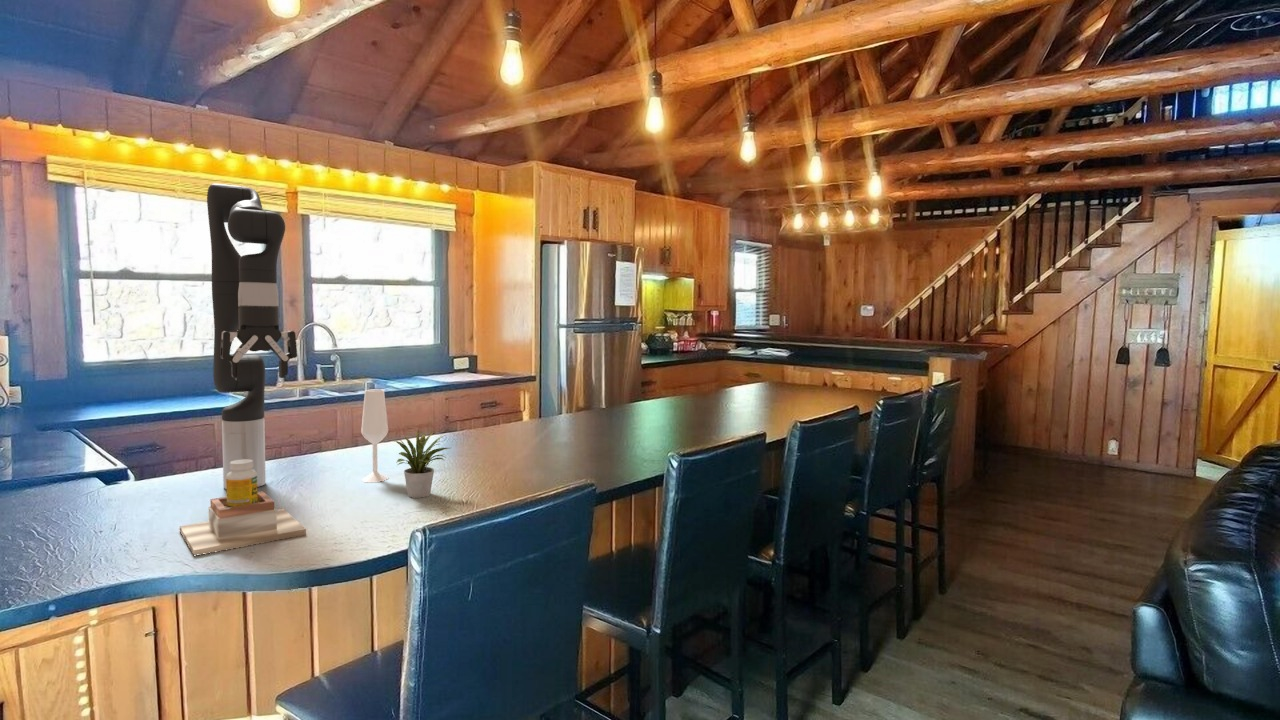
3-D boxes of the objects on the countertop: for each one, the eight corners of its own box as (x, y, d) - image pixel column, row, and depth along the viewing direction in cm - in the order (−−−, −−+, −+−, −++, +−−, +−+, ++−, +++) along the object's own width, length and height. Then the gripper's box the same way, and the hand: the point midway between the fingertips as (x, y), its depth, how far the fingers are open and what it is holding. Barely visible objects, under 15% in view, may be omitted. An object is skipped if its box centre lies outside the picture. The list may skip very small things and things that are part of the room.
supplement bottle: (228, 505, 134) (227, 459, 134) (258, 502, 137) (257, 457, 136) (225, 513, 129) (224, 465, 129) (256, 510, 132) (255, 463, 131)
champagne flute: (379, 474, 181) (378, 388, 180) (393, 478, 177) (393, 390, 176) (356, 479, 176) (355, 390, 174) (370, 483, 172) (370, 392, 170)
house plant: (411, 508, 152) (411, 438, 151) (373, 498, 159) (372, 431, 158) (458, 494, 164) (458, 429, 163) (421, 485, 171) (421, 423, 170)
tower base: (179, 531, 133) (178, 498, 133) (283, 514, 146) (283, 483, 146) (193, 556, 121) (192, 520, 120) (306, 534, 133) (305, 501, 133)
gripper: (290, 304, 149) (291, 375, 151) (216, 303, 140) (218, 379, 141) (299, 305, 144) (300, 378, 145) (223, 303, 134) (225, 382, 136)
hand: (260, 378), depth 143 cm, fingers open, 8 cm apart
